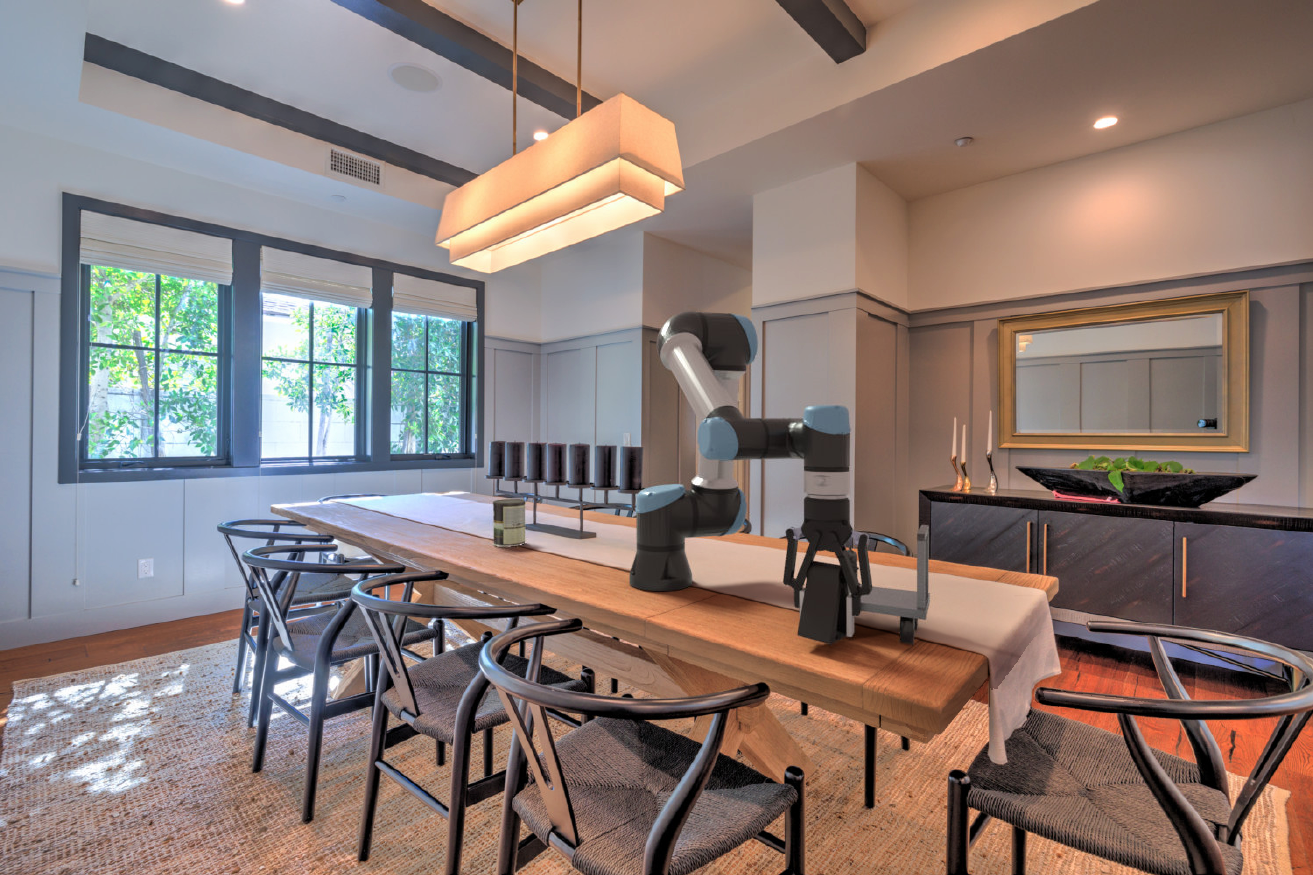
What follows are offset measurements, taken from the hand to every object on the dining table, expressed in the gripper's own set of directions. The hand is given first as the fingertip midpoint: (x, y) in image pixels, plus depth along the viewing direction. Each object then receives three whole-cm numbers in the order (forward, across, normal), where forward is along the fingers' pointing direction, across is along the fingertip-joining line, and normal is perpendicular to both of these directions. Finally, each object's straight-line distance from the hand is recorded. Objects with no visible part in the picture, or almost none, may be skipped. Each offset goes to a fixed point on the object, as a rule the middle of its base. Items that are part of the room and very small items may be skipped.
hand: (826, 630), depth 99 cm
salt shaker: (+3, -1, +28) cm, 28 cm away
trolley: (+3, +6, +12) cm, 14 cm away
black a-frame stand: (+1, 0, 0) cm, 1 cm away
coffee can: (+3, -110, +43) cm, 118 cm away
